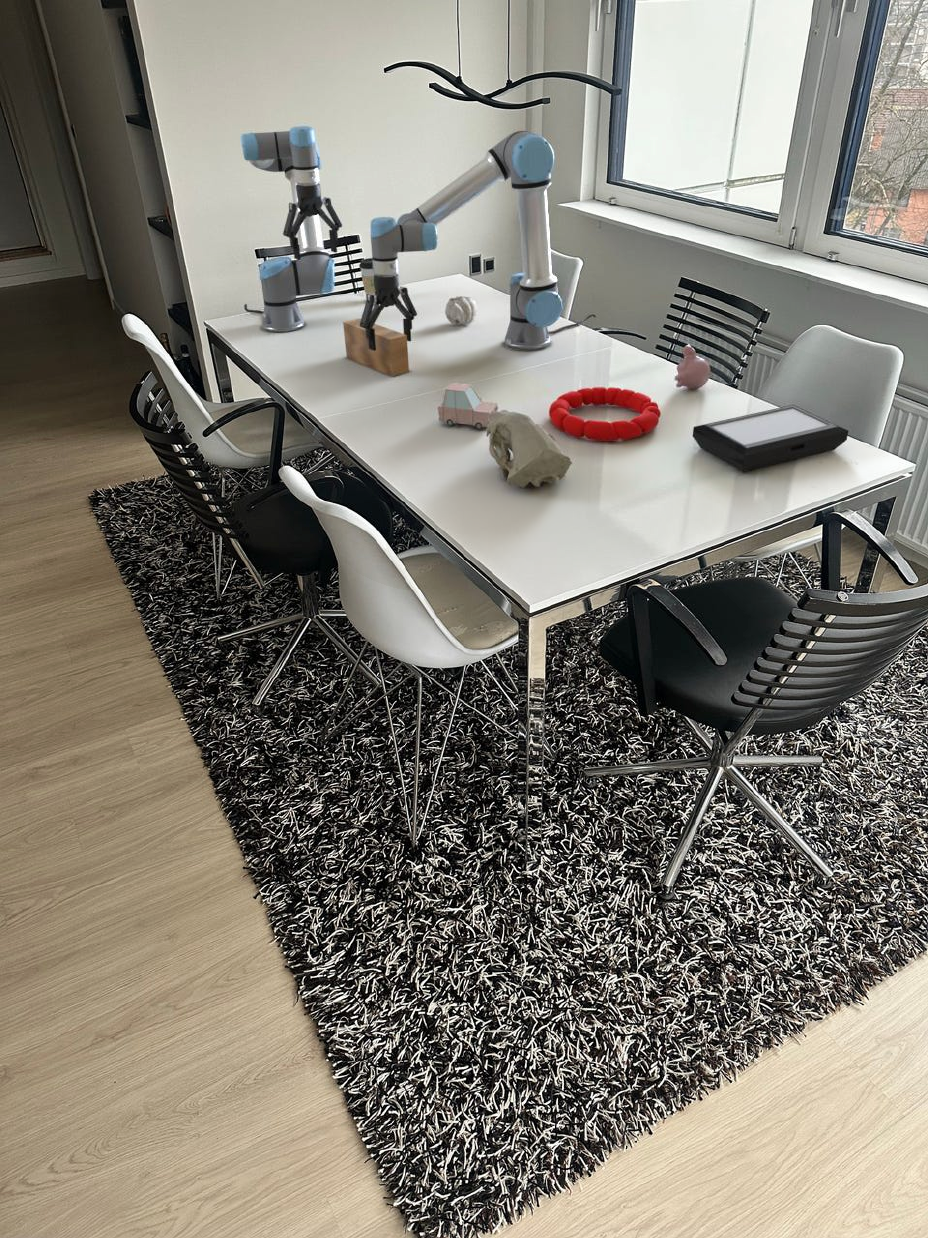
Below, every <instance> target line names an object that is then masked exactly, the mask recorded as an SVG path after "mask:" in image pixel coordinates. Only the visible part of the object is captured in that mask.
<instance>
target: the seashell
mask: <svg viewBox="0 0 928 1238" xmlns="http://www.w3.org/2000/svg"><path fill="white" fill-rule="evenodd" d="M444 313H445V316H446V319H447V320H448V321H449V323H450V324H452V325H455V326H458V325H460V324H461V325H468V324H471V323H472V321H473V320H474V319H475V318H476V316H477V314H478V306H477V303H476V301H475V300H474V299H472V298H471V297H470V296H462V295H460V296H458V295H457V296H455V297H451V298H449V299H448V302H447V303H446V305H445V309H444Z"/></svg>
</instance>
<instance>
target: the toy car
mask: <svg viewBox="0 0 928 1238" xmlns="http://www.w3.org/2000/svg"><path fill="white" fill-rule="evenodd" d="M498 409H499V404H498V403H497V402H490V401H489V402H487V401H483V397H481V396H480V395H479V394H478V393H477V391H476V390H475V389H474V386H472V384H469V383H459V382H451V383H450V384H449V385H448V386H447V387H446V388H445V389H444V394H443V399H442V403H440V404H439V405H438V406H437V413H438V421H439V422H443V423H446V425H447V426H448V427H452V426H454V425H455V424H461V425H469V426H473V427H475V429H476V430H479V431H480V430H481V429H483V428H485V427H486V428H487V423H488V422H490V414H491V413H492V412H496V411H499V410H498Z"/></svg>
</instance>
